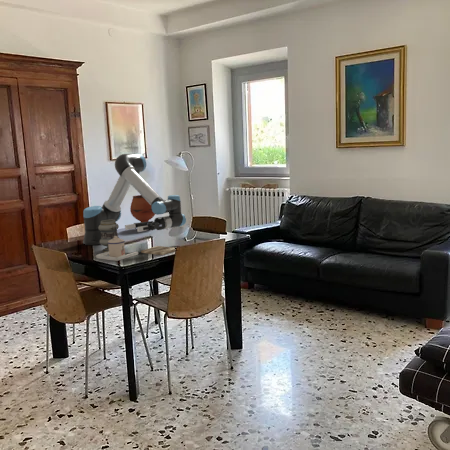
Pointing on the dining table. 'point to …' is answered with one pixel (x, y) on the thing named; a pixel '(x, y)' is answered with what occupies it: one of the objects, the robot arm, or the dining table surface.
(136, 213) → the goblet
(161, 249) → the oak board
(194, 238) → the dining table surface
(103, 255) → the cup dock
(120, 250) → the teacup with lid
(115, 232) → the apothecary jar
